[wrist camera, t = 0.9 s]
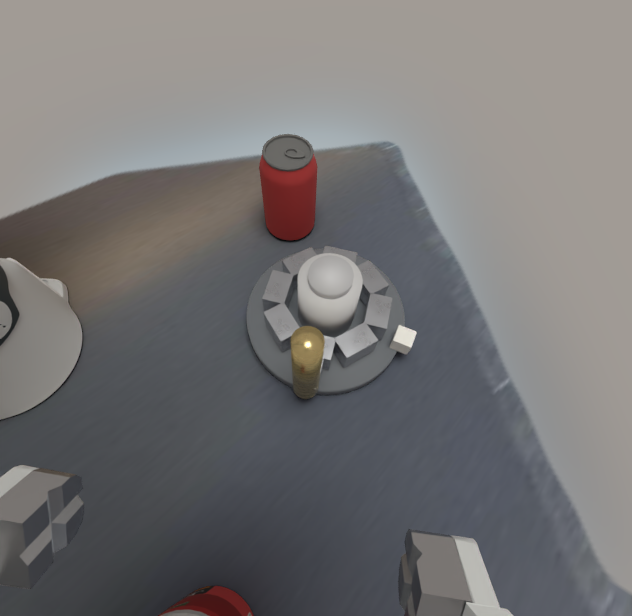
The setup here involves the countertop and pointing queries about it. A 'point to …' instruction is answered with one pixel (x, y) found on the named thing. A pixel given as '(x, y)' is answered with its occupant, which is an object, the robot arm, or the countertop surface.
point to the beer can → (288, 186)
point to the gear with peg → (309, 342)
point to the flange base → (336, 369)
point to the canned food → (210, 604)
